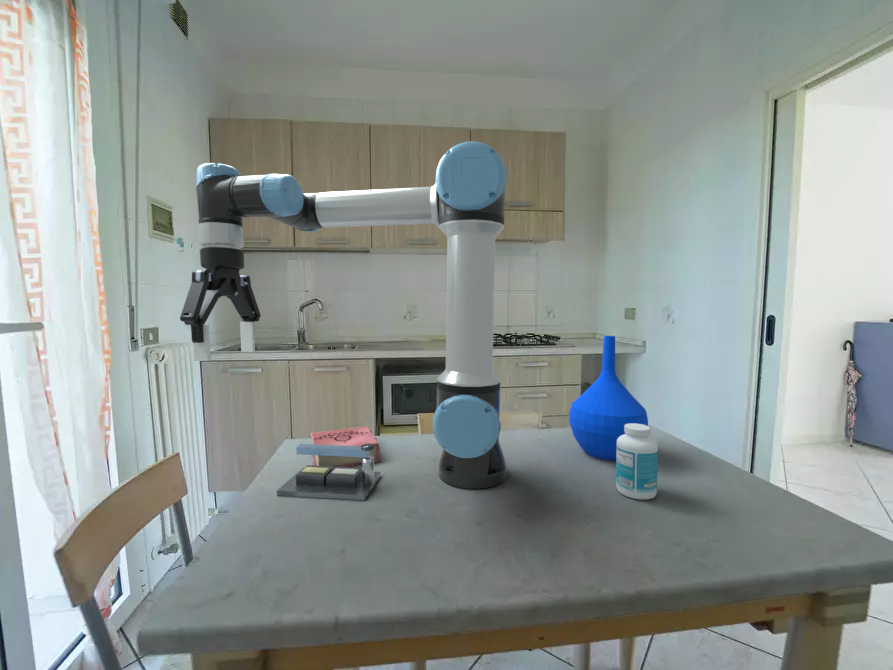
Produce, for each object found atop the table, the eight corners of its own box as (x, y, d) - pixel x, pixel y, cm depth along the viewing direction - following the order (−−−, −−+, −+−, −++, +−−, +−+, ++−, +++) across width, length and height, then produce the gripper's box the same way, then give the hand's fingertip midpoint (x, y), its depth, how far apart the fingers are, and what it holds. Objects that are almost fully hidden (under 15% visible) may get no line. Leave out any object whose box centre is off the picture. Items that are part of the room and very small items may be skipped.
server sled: (381, 476, 87) (381, 448, 87) (365, 500, 76) (364, 468, 76) (303, 472, 89) (302, 445, 89) (276, 495, 78) (275, 464, 78)
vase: (565, 439, 111) (567, 333, 109) (635, 443, 107) (639, 334, 105) (572, 465, 93) (575, 338, 91) (657, 471, 89) (661, 339, 87)
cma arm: (375, 453, 82) (375, 443, 82) (372, 458, 80) (371, 448, 80) (301, 450, 84) (301, 440, 84) (295, 454, 82) (295, 444, 82)
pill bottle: (655, 488, 81) (657, 423, 80) (657, 504, 74) (660, 434, 73) (615, 481, 84) (617, 419, 83) (614, 496, 77) (616, 429, 77)
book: (382, 462, 96) (381, 442, 95) (315, 473, 90) (315, 451, 90) (369, 443, 109) (369, 426, 109) (311, 451, 103) (311, 433, 103)
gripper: (244, 256, 90) (248, 348, 92) (150, 238, 66) (157, 364, 67) (274, 256, 90) (278, 349, 91) (191, 236, 65) (198, 365, 66)
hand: (227, 356), depth 79 cm, fingers open, 13 cm apart
